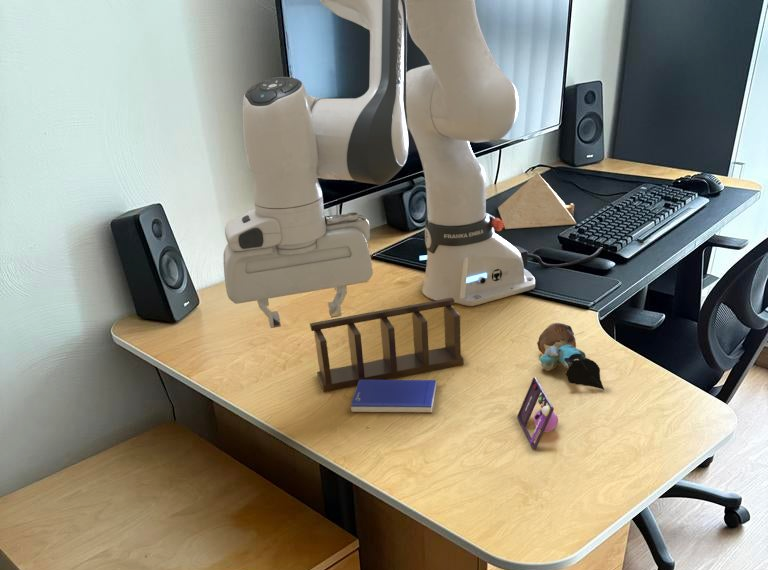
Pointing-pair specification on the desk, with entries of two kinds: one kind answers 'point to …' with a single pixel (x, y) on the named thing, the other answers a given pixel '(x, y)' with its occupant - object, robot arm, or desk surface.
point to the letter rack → (389, 347)
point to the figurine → (567, 356)
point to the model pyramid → (535, 207)
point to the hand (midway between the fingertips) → (305, 320)
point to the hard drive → (394, 396)
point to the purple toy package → (543, 418)
